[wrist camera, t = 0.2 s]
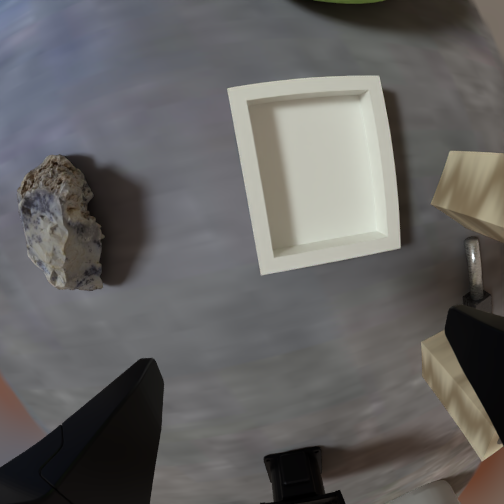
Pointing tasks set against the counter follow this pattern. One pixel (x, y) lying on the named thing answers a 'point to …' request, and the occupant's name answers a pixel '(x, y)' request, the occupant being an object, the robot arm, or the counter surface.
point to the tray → (317, 169)
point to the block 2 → (458, 395)
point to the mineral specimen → (61, 225)
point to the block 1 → (473, 192)
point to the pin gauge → (475, 278)
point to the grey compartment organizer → (429, 495)
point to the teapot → (351, 1)
